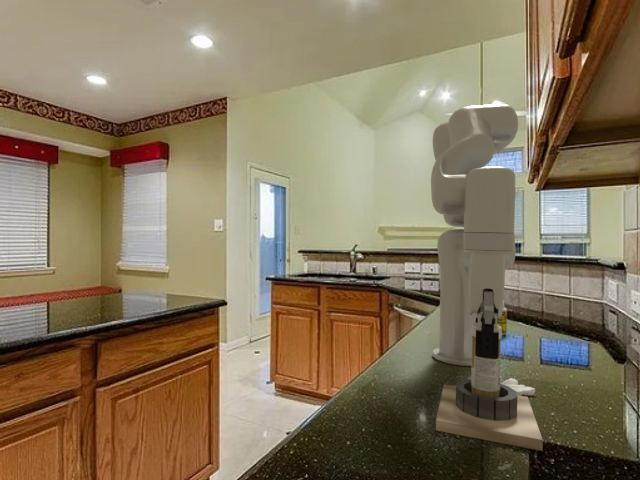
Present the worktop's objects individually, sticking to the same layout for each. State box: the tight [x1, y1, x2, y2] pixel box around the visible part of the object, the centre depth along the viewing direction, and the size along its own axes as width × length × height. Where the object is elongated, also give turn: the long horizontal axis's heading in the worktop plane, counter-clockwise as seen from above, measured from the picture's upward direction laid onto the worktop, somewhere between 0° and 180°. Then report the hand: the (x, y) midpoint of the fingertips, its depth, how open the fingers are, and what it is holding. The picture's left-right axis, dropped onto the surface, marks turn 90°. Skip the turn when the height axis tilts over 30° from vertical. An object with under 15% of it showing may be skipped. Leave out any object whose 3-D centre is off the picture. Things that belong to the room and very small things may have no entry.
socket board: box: [435, 378, 544, 452], centre depth 63 cm, size 16×14×4 cm
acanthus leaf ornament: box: [500, 377, 536, 396], centre depth 75 cm, size 8×7×2 cm
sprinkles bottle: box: [470, 323, 503, 398], centre depth 63 cm, size 5×5×14 cm
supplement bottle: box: [497, 300, 508, 336], centre depth 122 cm, size 6×6×10 cm
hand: (485, 348), depth 63 cm, fingers open, 9 cm apart
